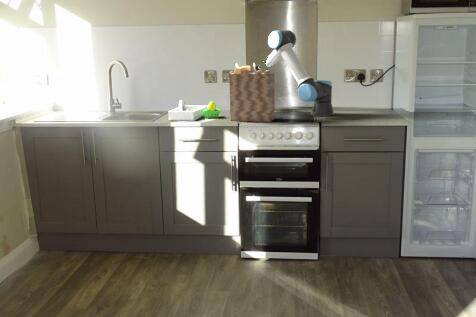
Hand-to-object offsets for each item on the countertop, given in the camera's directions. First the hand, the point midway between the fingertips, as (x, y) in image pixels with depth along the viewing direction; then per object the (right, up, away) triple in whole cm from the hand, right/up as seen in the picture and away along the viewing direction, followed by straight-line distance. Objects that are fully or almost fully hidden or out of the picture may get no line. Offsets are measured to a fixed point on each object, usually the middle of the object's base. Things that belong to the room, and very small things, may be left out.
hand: (245, 64), depth 333 cm
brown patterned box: (+5, -36, -2) cm, 37 cm away
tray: (-38, -33, +14) cm, 52 cm away
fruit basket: (-22, -34, +11) cm, 42 cm away
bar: (-1, -6, -4) cm, 7 cm away
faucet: (-42, -34, +15) cm, 55 cm away
